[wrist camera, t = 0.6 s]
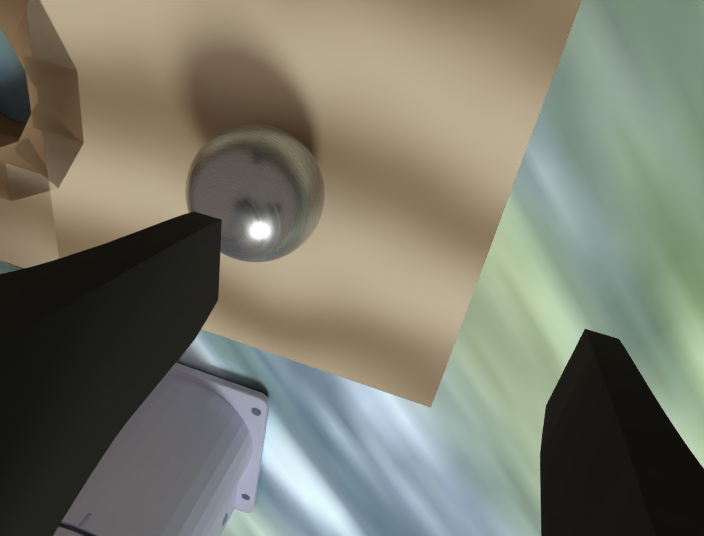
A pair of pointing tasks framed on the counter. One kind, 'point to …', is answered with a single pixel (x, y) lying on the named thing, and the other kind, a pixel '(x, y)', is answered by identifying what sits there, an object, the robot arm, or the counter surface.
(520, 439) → the counter surface
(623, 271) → the counter surface
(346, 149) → the deck
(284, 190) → the ball
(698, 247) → the counter surface
